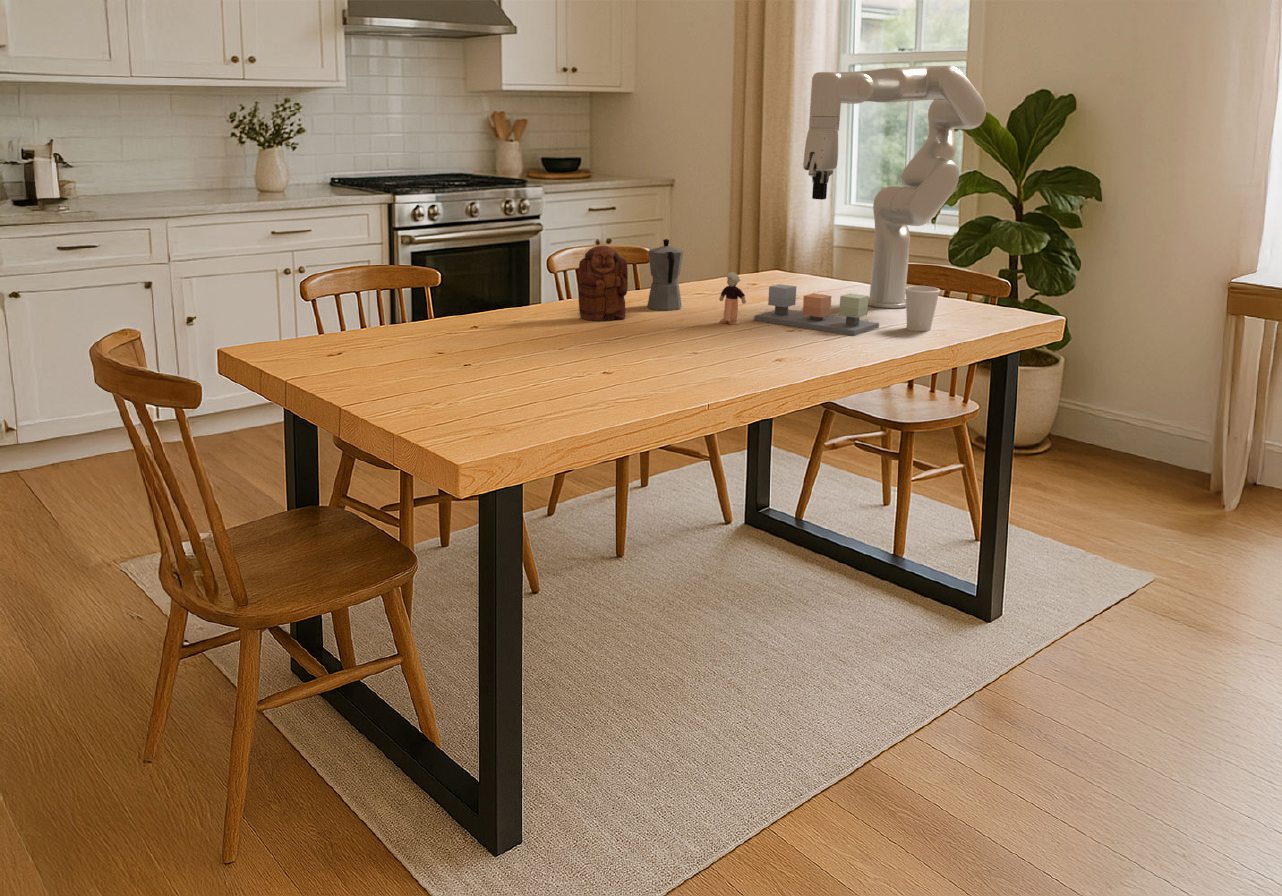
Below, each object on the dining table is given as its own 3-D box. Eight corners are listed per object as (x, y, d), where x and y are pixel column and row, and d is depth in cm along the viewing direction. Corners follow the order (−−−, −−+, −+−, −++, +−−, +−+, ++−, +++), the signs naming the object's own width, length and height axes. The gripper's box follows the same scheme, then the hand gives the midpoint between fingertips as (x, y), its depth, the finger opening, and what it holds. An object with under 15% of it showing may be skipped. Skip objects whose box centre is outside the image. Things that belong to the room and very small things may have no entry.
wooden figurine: (583, 322, 268) (583, 248, 262) (577, 317, 273) (577, 245, 268) (629, 320, 271) (630, 247, 266) (622, 315, 277) (623, 244, 271)
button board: (780, 313, 284) (781, 300, 283) (878, 327, 268) (880, 314, 267) (754, 320, 274) (754, 306, 273) (854, 335, 258) (855, 321, 257)
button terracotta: (812, 312, 273) (813, 293, 272) (830, 314, 271) (831, 295, 269) (802, 314, 270) (803, 295, 268) (820, 317, 267) (821, 298, 265)
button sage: (848, 312, 267) (850, 293, 266) (867, 315, 264) (868, 295, 263) (838, 315, 264) (840, 296, 262) (857, 318, 261) (859, 298, 259)
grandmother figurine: (713, 322, 270) (715, 271, 266) (719, 320, 273) (722, 269, 269) (742, 326, 266) (744, 274, 262) (748, 323, 269) (750, 272, 266)
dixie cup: (937, 333, 263) (941, 292, 259) (901, 331, 264) (905, 290, 261) (935, 326, 270) (939, 286, 267) (900, 324, 272) (904, 284, 269)
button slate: (778, 302, 279) (779, 284, 277) (795, 304, 276) (796, 286, 275) (768, 305, 275) (769, 286, 274) (785, 307, 272) (786, 288, 271)
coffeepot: (642, 303, 294) (644, 236, 288) (677, 303, 295) (679, 236, 290) (652, 314, 279) (654, 243, 274) (688, 313, 281) (690, 243, 275)
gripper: (825, 123, 280) (820, 196, 286) (796, 124, 269) (791, 199, 274) (851, 124, 276) (846, 198, 281) (823, 124, 264) (817, 201, 270)
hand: (819, 198), depth 278 cm, fingers closed
